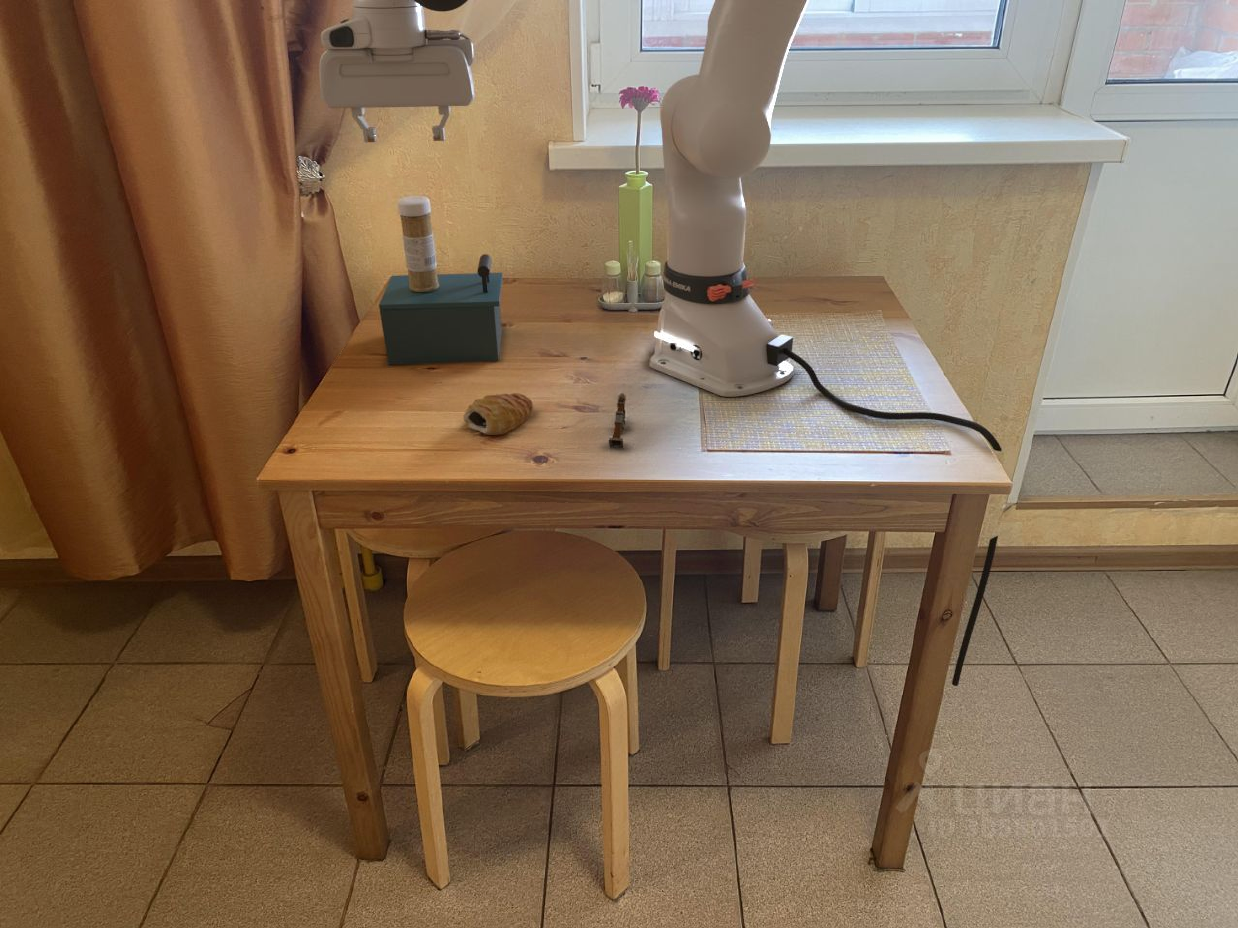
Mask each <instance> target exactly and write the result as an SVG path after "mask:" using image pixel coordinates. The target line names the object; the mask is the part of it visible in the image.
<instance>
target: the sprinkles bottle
mask: <svg viewBox="0 0 1238 928" xmlns="http://www.w3.org/2000/svg"><path fill="white" fill-rule="evenodd" d="M397 209H398V214H399V217H400V221H401V222H400V223H401V230H402V240H403V241H402V242H403V246H404V247H403V248H404V256H405V263H406V269H407V275H409V282H410V285H409V287H410V289H411V290H412V291H415V292H431V291H434V290H436V289H437V288H438V287H439V283H438V277H437V274H438V269H437V267H438V266H437V265H438V264H437V257H436V255H437V254H436V247H435V237H434V233H433V228H432V221H431V220H432V219H431V212H432V208H431V201H430V199H429V198H428V197H426V196H423V195H422V196H421V195H412V196H411V195H410V196H404V197H402V198H400V199H398V200H397Z"/></svg>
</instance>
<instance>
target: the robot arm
mask: <svg viewBox="0 0 1238 928" xmlns="http://www.w3.org/2000/svg"><path fill="white" fill-rule="evenodd" d="M468 1H469V0H352V6H353V18H347V19H344V20H342V21H340V23H337V24H334V25H332V26H329V27H327V28H325V29H323V31H322V32H321V33H320V39H321V45H322V47H324V48H325V51H324V52H323V53H322V54H321V56H320V59H319V65H318V66H319V68H318V69H319V87H320V95H321V100H322V102H323V103H324V104H325V105H326V106H327V108H329V109H350V111H351V117H352V119H353V120H354V121H355V122H356V124H357V125H358V127H359V128H360V129H361V130H362V136H363V142H364V143H376V142H377V141H378V136H377V134H376V133H377V129H376V126H370V125H369V124H368V123H367V121H366V119H365V117H363V115H365V113H366V110H365V109H368V108H369V109H371V108H422V107H423V108H424V107H426V108H427V107H431V108H432V107H437V108H438V114H439V116H442V118H441V120H440V122H439V125H433V126H432V127H431V129H432V130H431V131H432V134H433V135H432V140H433V141H434V142H444V141H446V132H445V126H446V124H447V121H448V120H449V117H450V115H451V112H452V111H451V107H468V106H470V105H471V104H472V103H473V102H474V100H475V98H476V94H475V93H476V92H475V91H476V90H475V85H474V78H473V73H472V69H471V65H472V64H473V61H474V59H475V58H474V45H473V42H472V40H471V39H470V37H469V36H468V35H466V34H464V33H461V31H460V30H458V29H450V30H439V29H428V30H427V29H426V22H425V21H426V20H425V12H424V8H425V9H427V10H429V11H434V12H440V13H441V12H442V13H443V12H451V11H454V10H457V9H459V8H461V7H462V6H463V5H464V4H466V3H467V2H468ZM809 1H810V0H714V3H713V4H712V8H711V11H710V12H709V16H708V18H707V33H706V38H705V44H704V50H703V55H702V59H701V63H700V66H699V67H700V68H699V72H698V74H693V75H689V76H685V77H683V78H681V79H678V80H677V81H675V82H674V83H673V84H672V85H671V86H670V87H669V88H668V89H667V90H666V92H665V93H664V96H663V97H662V99H661V103H660V109H659V120H660V128H661V141H662V142H661V143H662V156H663V157H662V159H663V171H664V178H665V179H664V180H665V181H664V182H665V190H666V198H667V251H666V252H667V253H666V254H667V256H666V257H667V258H666V261H665V263H664V264H663V267H664V268H663V272H662V279H663V289H664V291H665V294H664V298H663V302H662V305H661V307H660V310H659V314H658V323H657V329H656V331H654V337H655V347H654V350H653V352H654V353H653V354H652V355H651V357H650V358H649V367H650V369H653V370H656V371H658V372H660V373H663V374H666V375H669V376H671V377H673V378H675V379H678V380H681V381H683V382H685V383H688V384H691V385H693V386H695V387H698V388H700V389H703V390H705V391H707V392H710V393H711V394H715V395H718V396H721V397H725V398H726V397H727V398H729V397H731V398H733V397H743V396H744V397H745V396H750V395H754V394H758V393H761V392H765V391H768V390H771V389H774V388H776V387H779V386H780V385H783V384H785V383H787V382H788V381H789V380H791V379H792V378H793V376H794V375H795V367H794V366H793V365H792V364H790V363H789V362H788V361H786V360H788V359H791V360H793V362H794V363H797V364H798V365H799V366H800V367H801V368H803V370H805V371H806V373H807V375H808V376H809V378H810V380H811V383H812V384H813V386H814V387H815V389H816V390H817V391H818V392H819V393H821V394H822V395H823V396H824V397H825V398H827V399H828V400H830V401H832V402H833V403H835V404H836V405H837V406H839V407H840V408H842V409H844V410H847V411H849V412H853V413H856V414H860V415H864V416H866V417H867V416H868V417H871V418H875V419H882V420H898V421H899V420H932V421H938V422H939V421H940V422H945V423H949V424H952V425H956V426H961V427H965V428H969V429H972V430H973V431H975V432H977V433H979V434H981V436H983V438H985V440H986V441H987V442H988V443H989V445H990V446H991V448H992V450H994V451H995V452H1002V451H1003V449H1002V447H1001V445H1000V443H999V442H998V440H997V439H996V437H995V436H994V435H993V434H992V432H990V431H989V430H988V429H987V428H986V427H984V426H983V425H981V424H980V423H977V422H976V421H974V420H973V421H972V420H969V419H965V418H961V417H956V416H953V415H949V414H944V413H938V412H927V411H914V412H913V411H912V412H890V411H889V412H886V411H880V410H875V409H870V408H867V407H862V406H859V405H855V404H852V403H849V402H846V401H845V400H842V399H840V398H839V397H837V396H836V395H835V394H833V393H832V392H831V391H829V390H828V389H827V388H826V387H825V386H824V385H823V384H822V382H821V381H820V380H819V378H818V376H817V373H816V372H815V370H814V369H813V367H812V366H811V365H810V364H809V363H808V362H807V361H806V360H805V359H803V358H802V357H800V356H799V355H798V354H797V353H795V352H793V343H794V337H793V336H790V335H786V334H780V335H778V334H777V333H778V332H777V331H776V330H775V328H774V323H773V321H772V319H769V318H767V317H766V316H765V315H764V313H763V312H762V310H761V309H760V308H759V306H758V305H757V303H756V302H755V301H754V299H753V297H752V296H751V294H750V293H751V287H755V286H756V285H755V284H754V283H753V282H755V281H756V279H755V278H754V277H753V278H750V279H749V278H748V277H749V276H748V272H747V268H746V265H745V263H744V253H745V239H746V224H747V207H746V203H745V199H744V193H743V187H742V179H741V178H744V177H745V176H747V175H750V174H751V173H752V172H754V171H755V170H757V169H758V168H759V167H760V165H761V164H762V163H763V162H764V160H765V158H766V156H767V154H768V152H769V150H770V146H771V140H772V132H771V131H772V129H771V121H772V115H773V112H774V108H775V103H776V99H777V94H778V90H779V86H780V81H781V78H782V74H783V70H784V65H785V63H786V59H787V55H788V53H789V49H790V47H791V44H792V42H793V39H794V37H795V35H796V32H797V29H798V28H799V24H800V22H801V21H802V18H803V15H804V13H805V10H806V8H807V6H808V3H809ZM752 283H753V284H752ZM998 538H999V535H996V536H994V537H992V538H990V539H989V541H988V545H987V546H988V547H987V552H986V556H985V560H984V564H983V568H982V572H981V576H980V580H979V583H978V587H977V590H976V594H975V597H974V601H973V604H972V608H971V610H970V614H969V617H968V621H967V625H966V628H965V631H964V635H963V639H962V642H961V645H960V649H959V652H958V656H957V660H956V664H955V668H954V672H953V675H952V680H951V685H952V686H954V687H958V686H959V683H960V679H961V674H962V670H963V667H964V663H965V659H966V656H967V652H968V648H969V644H970V642H971V637H972V636H973V635H972V634H973V631H974V628H975V625H976V621H977V618H978V614H979V612H980V608H981V604H982V601H983V598H984V596H985V591H986V588H987V584H988V581H989V577H990V573H991V569H992V567H993V566H992V565H993V562H994V557H995V552H996V549H997V548H996V547H997V544H998Z"/></svg>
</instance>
